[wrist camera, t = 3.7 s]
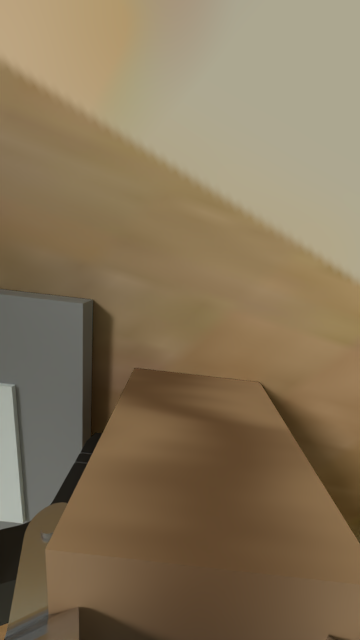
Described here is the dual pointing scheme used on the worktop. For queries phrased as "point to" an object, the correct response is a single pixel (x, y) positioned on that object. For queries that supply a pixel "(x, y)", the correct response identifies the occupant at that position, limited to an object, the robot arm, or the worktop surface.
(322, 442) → the worktop surface
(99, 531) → the tan wooden block
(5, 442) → the grey flat plate
